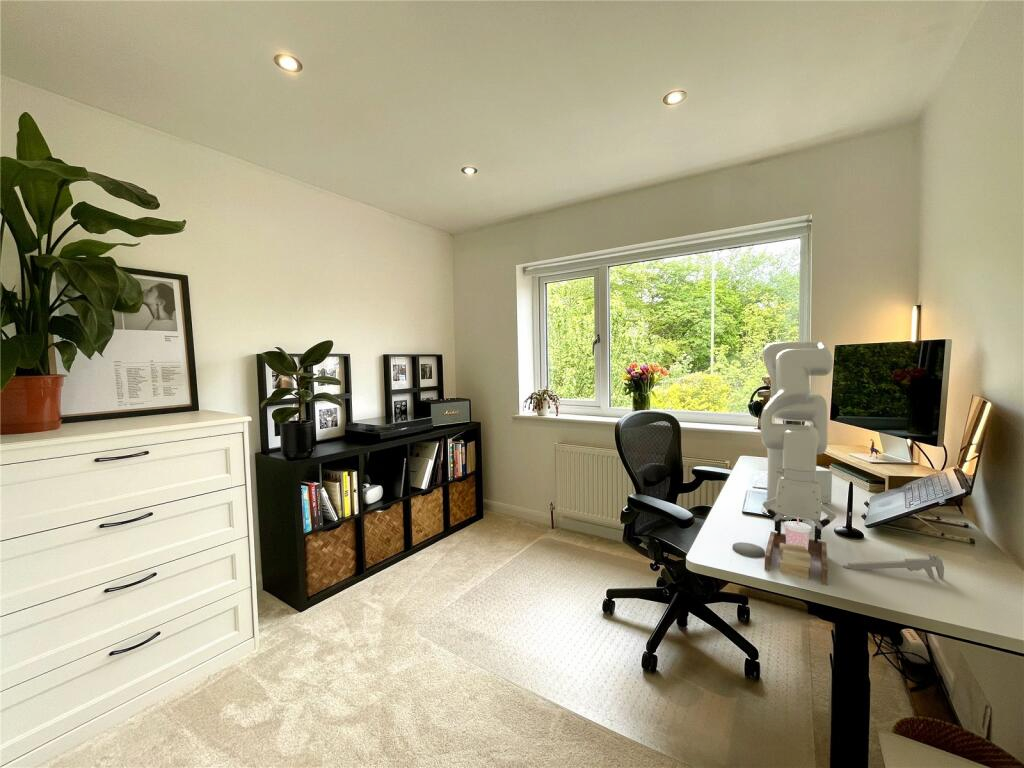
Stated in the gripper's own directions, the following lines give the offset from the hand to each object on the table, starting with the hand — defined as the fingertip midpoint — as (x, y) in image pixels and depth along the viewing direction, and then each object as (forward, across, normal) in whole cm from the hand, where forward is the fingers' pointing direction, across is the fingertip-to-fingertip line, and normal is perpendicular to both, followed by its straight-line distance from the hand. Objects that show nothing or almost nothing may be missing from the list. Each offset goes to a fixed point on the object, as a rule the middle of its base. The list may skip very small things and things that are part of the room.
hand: (797, 537), depth 114 cm
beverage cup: (+6, 0, 0) cm, 6 cm away
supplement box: (+6, +4, +58) cm, 59 cm away
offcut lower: (+6, 0, -9) cm, 11 cm away
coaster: (+6, -11, -3) cm, 13 cm away
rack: (+6, 0, -4) cm, 7 cm away
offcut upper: (+3, 0, -9) cm, 10 cm away
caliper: (+6, +20, +3) cm, 21 cm away
